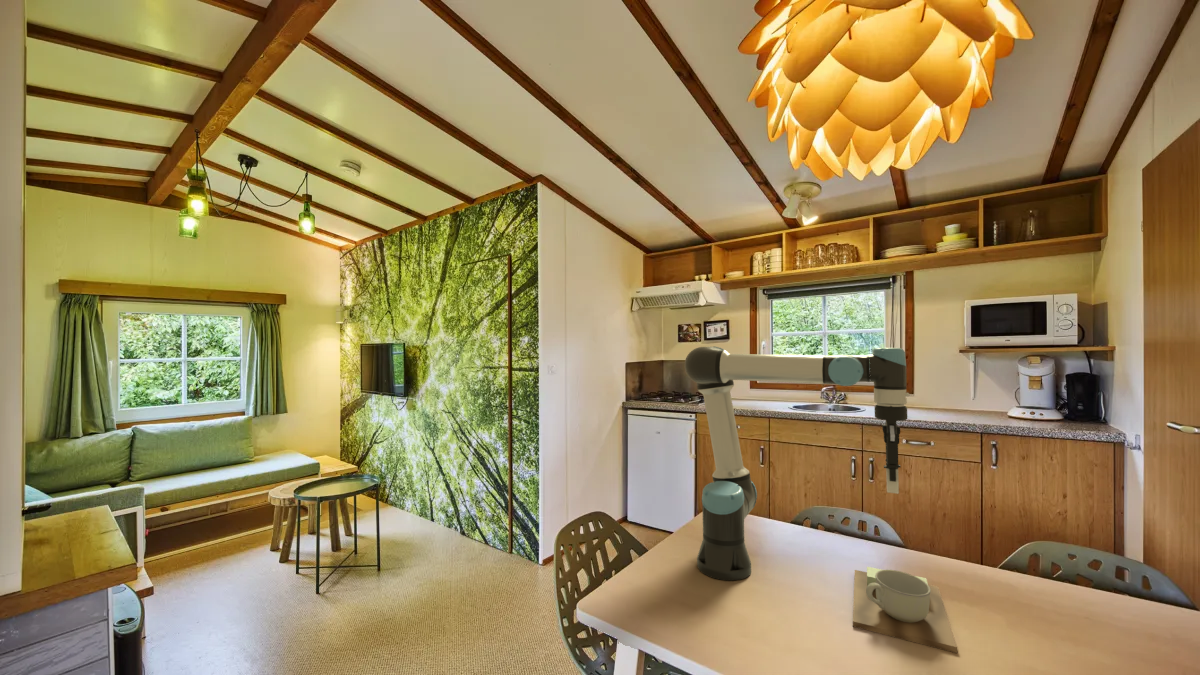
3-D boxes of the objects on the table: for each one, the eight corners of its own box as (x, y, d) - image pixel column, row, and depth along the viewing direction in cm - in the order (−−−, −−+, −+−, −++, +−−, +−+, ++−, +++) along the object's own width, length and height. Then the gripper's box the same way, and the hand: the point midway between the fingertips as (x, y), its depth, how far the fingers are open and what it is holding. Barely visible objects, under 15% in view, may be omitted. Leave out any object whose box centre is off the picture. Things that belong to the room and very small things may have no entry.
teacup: (913, 603, 112) (912, 570, 112) (942, 630, 101) (941, 593, 101) (853, 601, 113) (853, 568, 113) (876, 627, 102) (875, 591, 102)
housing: (867, 590, 118) (867, 576, 118) (867, 580, 123) (866, 566, 123) (929, 604, 111) (929, 588, 111) (926, 593, 116) (926, 578, 116)
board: (852, 626, 105) (852, 614, 105) (854, 574, 129) (854, 564, 129) (957, 653, 95) (957, 639, 95) (938, 591, 119) (938, 580, 120)
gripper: (909, 408, 117) (911, 501, 117) (905, 402, 129) (907, 487, 128) (874, 406, 121) (877, 497, 120) (873, 401, 132) (875, 484, 132)
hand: (892, 492), depth 124 cm, fingers closed
